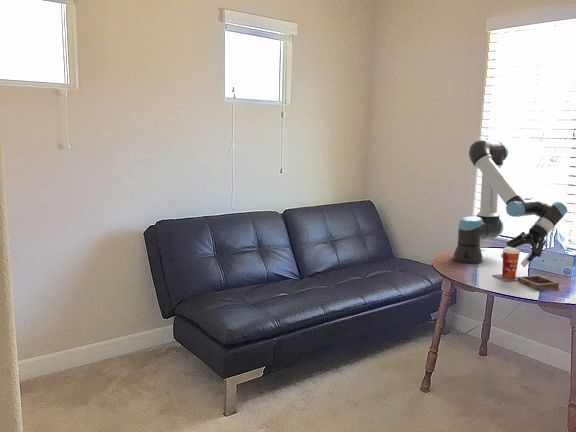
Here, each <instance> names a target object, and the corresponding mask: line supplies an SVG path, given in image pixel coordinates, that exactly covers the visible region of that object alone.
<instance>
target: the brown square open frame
mask: <svg viewBox="0 0 576 432" xmlns="http://www.w3.org/2000/svg"><path fill="white" fill-rule="evenodd" d="M517 277H518V281H516V282H517V283H518V284H521V285H523V286H526V287H529V288H531V289H533V290H535V291H544V290H545V291H546V290H553V289H554V290H555V289H559V286H560V282H558V281H554V280H552V279H549V278H547V277H544V276H542V275H539V274H535V275H525V276H517ZM535 282H540V283H535Z"/></svg>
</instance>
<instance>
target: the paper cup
mask: <svg viewBox="0 0 576 432" xmlns="http://www.w3.org/2000/svg"><path fill="white" fill-rule="evenodd" d="M502 253H503V258H502V272H501V274H502V277H504V278H507V279H515V276H517V269H518V264H519V258H520V254H521V251H520V249H518V247H515V248H511V247H508V246H507V247H503V249H502Z"/></svg>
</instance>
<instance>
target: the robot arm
mask: <svg viewBox="0 0 576 432" xmlns="http://www.w3.org/2000/svg"><path fill="white" fill-rule="evenodd" d="M508 155H509V147H508V146H507V144H506V143H505V142H504V141H503V140H499V139H478V140H476V141H474V142H473V143H472V144H471V145H470V146H469V149H468V158H469V159H470V160H469V161H470V162H471V163H472V165H473V167H474V168H475V169H479V171H480V172H481V173H482V174H481V185H480V186H481V188H480V207H479V212H477V214H476V216H475V215H474V216H473V215H472V216H470V215H469V216H463V217H462V218H460V220H459V223H458V231H457V244H456V246H455V250H454V252H453V255H452V259H453V260H454V261H456V262H458V261H459V263H463V264H473V265H474V264H481V263H483V254H482V250H481V249H482V248H481V244H482V243H481V242H482V241H484V240H493V239H495V238H498V237H500V235H501V234H502V232H503V231H504V223H503V221H502V219H500V214H499V213H498V197H500V199H501V200H502V201H503V203H504V204H505V205H506V206H505V210H506V213H507V215H509V216H510V217H513V218H515V217H516V218H519V217H527V216H536V217H538V219H537V220H536V221H535V223H534V224H533V225H532V226H531V227H530V228H529V229H528V230H529V231H528V233H525V232H524V231H522V232H521V233H519V235H517V236H515V237H513V238H512V239H510V240H509V241H507V242H506V246H507V247H511V248H518V247H520V246H522V245H527V244H528V245H531V252H529V253H528V254H527V255H526V257H525V258H523V260H521V262H520V265H522V267H523V268H526V266H527V265H528V264H529V263H530V262H532V261H533V260H534V258H536V257H538V258H540V257H541V256H542V253H543V249H544V247H545V244H546V243H547V240H546V239H545V238H546V236H547V235H548V234H549V233H550V232H551V231H552V230H553V228H554V227H555V226H556V225H557V224H558V223H560V221H561V220H562V219H563V218H564V216H565V215H566V214H567V213H568V208H567V206H566V205H565V204H564V203H562V202H560V201H556V200H555V201H553V202H552V203H551V204H550V203H547V202H545V201H543V200H540V199H538V198H536V197H532V196H527V197H526V198H524V199H523V198H522V196H520V194H519V193H518V192H517V190H516V189H515V187H514V186H513V185H512V183H510V181H509V180H508V178H507V177H506V176H505V174H504V173H503V172H502V171H501V169H500V168H501V167H503V166H504V161H505V160H506V158H508ZM500 257H501V259H503V252H502V253H501V254H500Z"/></svg>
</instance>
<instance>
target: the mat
mask: <svg viewBox="0 0 576 432" xmlns="http://www.w3.org/2000/svg"><path fill="white" fill-rule="evenodd" d="M491 276H492V277H494V278H496V279H498V280H500V281H502V282H505V283H513V282H517V281H518V277H519V276H517V275H515V279H507V278H504V277H502V273H499V274H497V273H496V274H492V275H491Z"/></svg>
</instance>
